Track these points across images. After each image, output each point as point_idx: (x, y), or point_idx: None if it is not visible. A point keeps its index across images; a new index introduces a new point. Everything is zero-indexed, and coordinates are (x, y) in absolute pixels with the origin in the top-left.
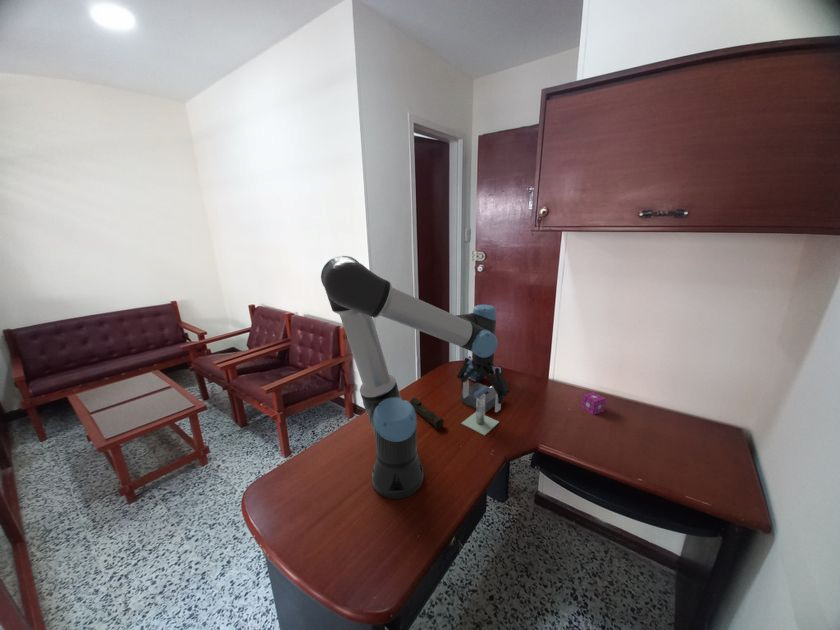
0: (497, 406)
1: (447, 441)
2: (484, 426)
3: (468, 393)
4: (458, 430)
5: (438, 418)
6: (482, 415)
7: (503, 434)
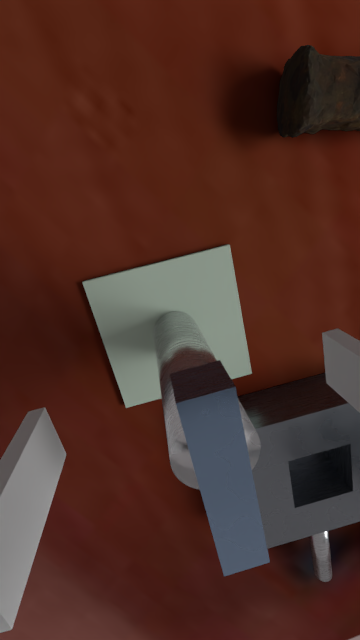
0: (10, 455)
1: (157, 57)
2: (136, 327)
3: (337, 391)
4: (196, 192)
5: (327, 94)
6: (157, 350)
7: (45, 365)
